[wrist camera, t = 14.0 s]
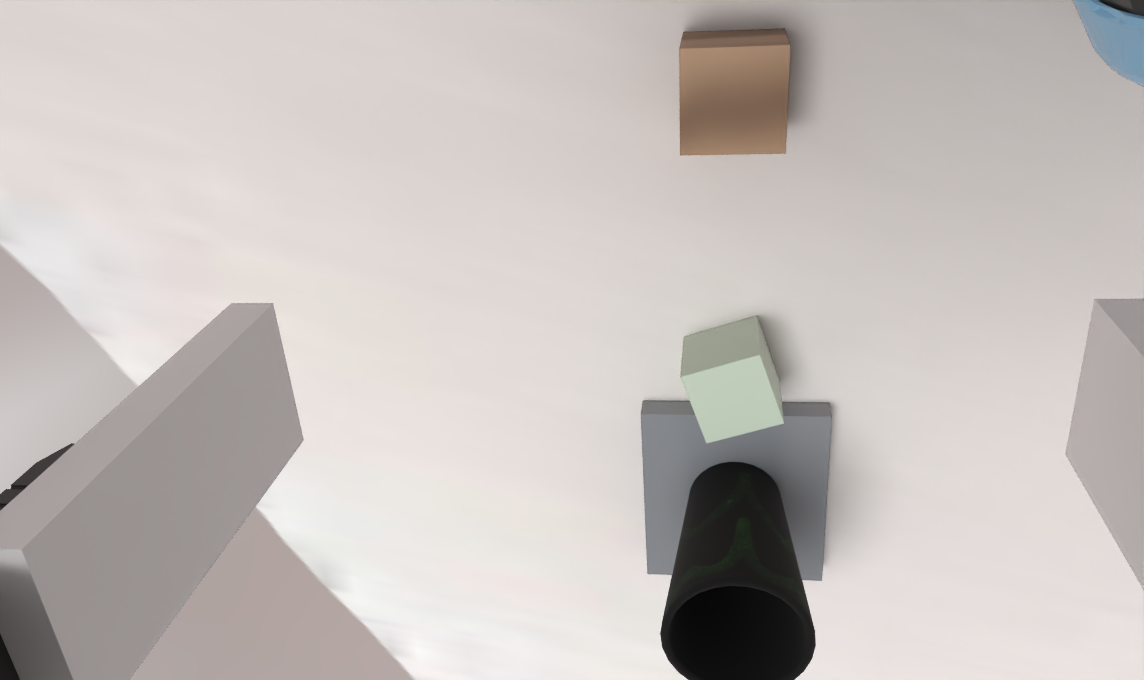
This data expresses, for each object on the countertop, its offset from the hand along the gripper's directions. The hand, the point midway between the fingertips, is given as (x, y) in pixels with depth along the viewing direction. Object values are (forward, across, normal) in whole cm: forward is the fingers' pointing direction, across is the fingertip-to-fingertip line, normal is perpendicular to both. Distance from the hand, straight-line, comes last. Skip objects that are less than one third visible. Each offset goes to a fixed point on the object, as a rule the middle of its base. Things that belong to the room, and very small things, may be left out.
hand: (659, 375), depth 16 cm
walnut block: (+37, +2, -3) cm, 37 cm away
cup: (+35, +2, -28) cm, 45 cm away
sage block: (+37, +2, -19) cm, 41 cm away
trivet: (+37, +2, -28) cm, 46 cm away
